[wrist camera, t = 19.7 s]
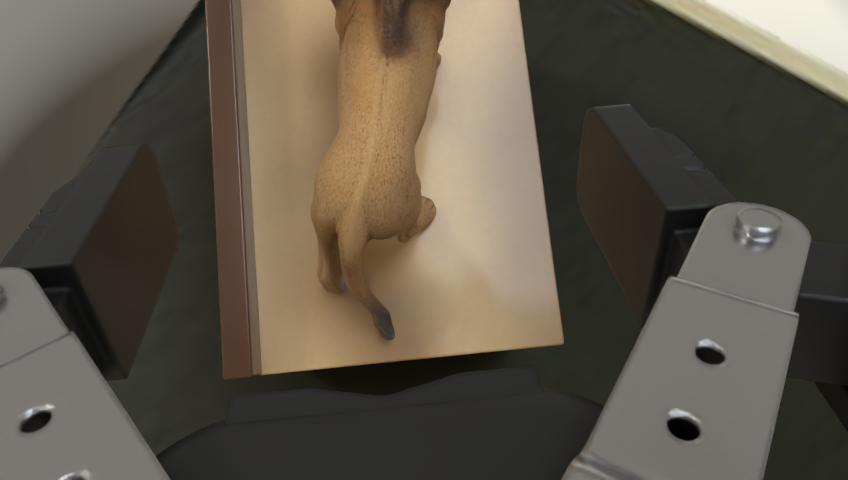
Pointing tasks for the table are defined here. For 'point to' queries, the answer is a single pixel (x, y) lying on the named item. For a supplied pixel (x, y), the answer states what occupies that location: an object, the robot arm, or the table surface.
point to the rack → (382, 259)
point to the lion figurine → (376, 139)
